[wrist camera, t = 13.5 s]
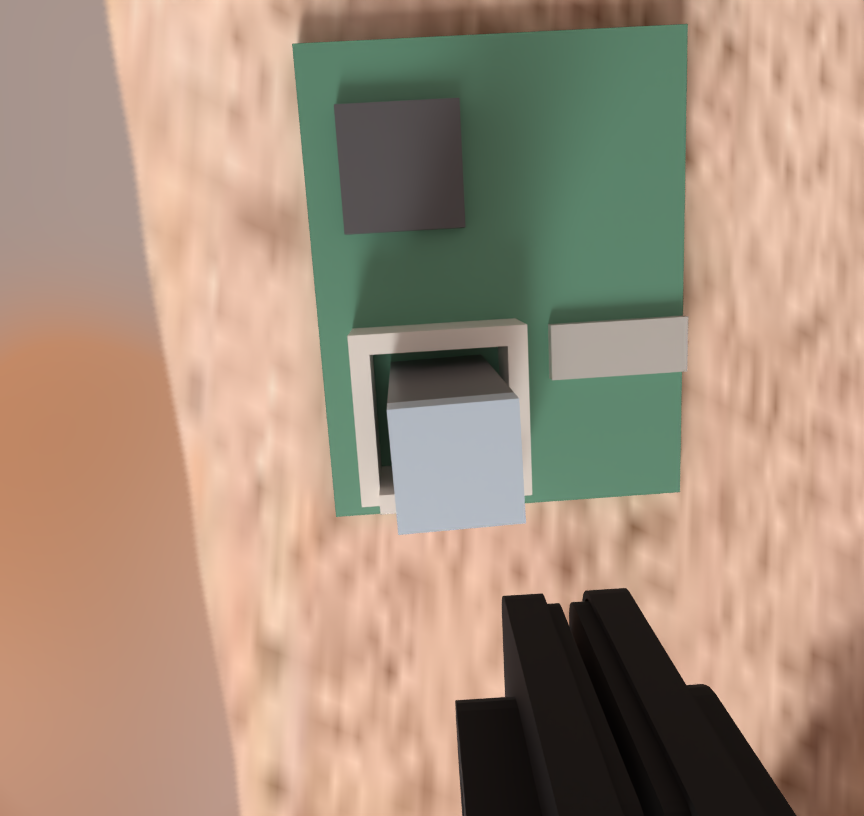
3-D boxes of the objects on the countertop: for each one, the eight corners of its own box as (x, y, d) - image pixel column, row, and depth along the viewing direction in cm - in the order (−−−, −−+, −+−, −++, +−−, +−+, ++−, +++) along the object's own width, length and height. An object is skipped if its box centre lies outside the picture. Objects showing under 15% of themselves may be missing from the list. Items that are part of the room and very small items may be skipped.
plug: (390, 362, 31) (386, 409, 21) (481, 354, 31) (519, 398, 21) (398, 449, 32) (398, 535, 22) (486, 441, 32) (525, 522, 22)
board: (296, 52, 29) (289, 37, 27) (676, 33, 30) (695, 17, 28) (338, 507, 33) (334, 523, 31) (669, 483, 34) (686, 497, 32)
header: (352, 328, 30) (345, 338, 26) (515, 318, 31) (531, 326, 27) (365, 484, 32) (360, 515, 28) (520, 473, 32) (537, 503, 28)
